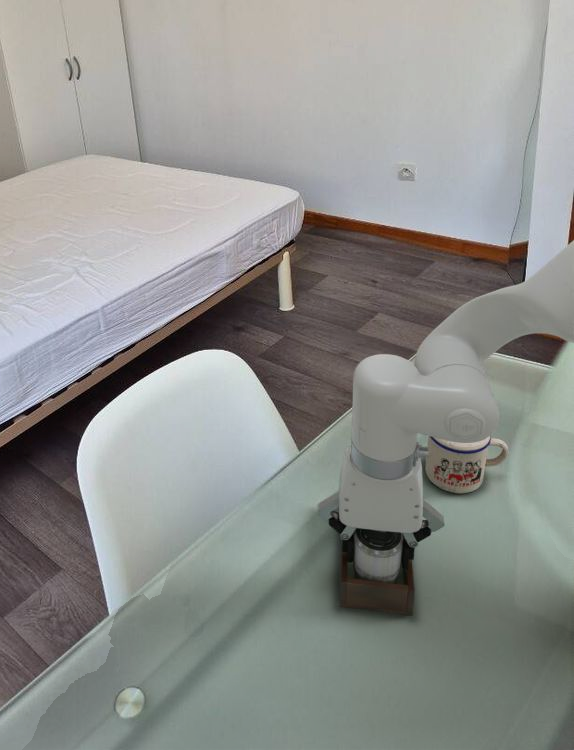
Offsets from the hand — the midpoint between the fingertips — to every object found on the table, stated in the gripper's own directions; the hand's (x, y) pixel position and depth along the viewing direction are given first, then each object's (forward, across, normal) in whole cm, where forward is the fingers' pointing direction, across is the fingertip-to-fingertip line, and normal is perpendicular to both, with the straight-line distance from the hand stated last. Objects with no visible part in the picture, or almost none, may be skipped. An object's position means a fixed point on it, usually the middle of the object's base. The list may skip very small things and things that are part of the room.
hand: (377, 556), depth 90 cm
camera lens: (+3, 0, 0) cm, 3 cm away
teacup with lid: (+5, -14, -22) cm, 26 cm away
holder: (+5, 0, -4) cm, 6 cm away
